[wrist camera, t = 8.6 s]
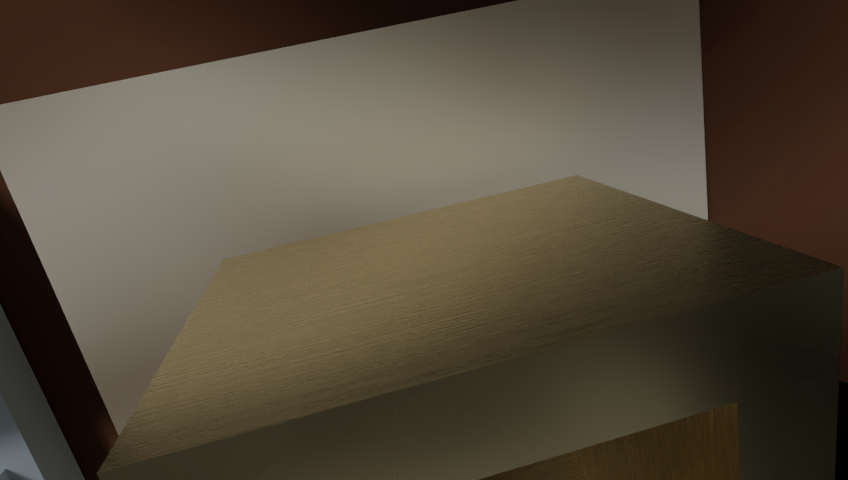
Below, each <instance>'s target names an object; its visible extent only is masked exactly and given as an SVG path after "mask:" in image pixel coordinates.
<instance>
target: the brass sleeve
mask: <svg viewBox="0 0 848 480" xmlns="http://www.w3.org/2000/svg"><path fill="white" fill-rule="evenodd" d="M843 270H844V268H843V267H840V266H838V265H835V264H832V263H829V262H826V261H823V260H820V259H817V258H815V257H812V256H809V255H806V254H803V253H800V252H797V251H794V250H792V249H789V248H786V247H783V246H780V245H777V244H774V243H771V242H769V241H766V240H763V239H760V238H757V237H754V236H751V235H748V234H745V233H743V232H740V231H737V230H734V229H731V228H728V227H725V226H722V225H720V224H717V223H714V222H711V221H708V220H705V219H702V218H699V217H697V216H694V215H691V214H688V213H685V212H682V211H679V210H676V209H673V208H671V207H668V206H665V205H662V204H659V203H656V202H653V201H650V200H648V199H645V198H642V197H639V196H636V195H633V194H630V193H627V192H625V191H622V190H619V189H616V188H613V187H610V186H607V185H604V184H602V183H599V182H596V181H593V180H590V179H587V178H584V177H581V176H578V175H575V176H570V177H566V178H562V179H558V180H554V181H549V182H545V183H541V184H537V185H533V186H529V187H524V188H520V189H516V190H512V191H508V192H503V193H499V194H495V195H491V196H487V197H483V198H478V199H474V200H470V201H466V202H462V203H457V204H453V205H449V206H445V207H441V208H437V209H432V210H428V211H424V212H420V213H416V214H411V215H407V216H403V217H399V218H395V219H391V220H386V221H382V222H378V223H374V224H370V225H365V226H361V227H357V228H353V229H349V230H345V231H340V232H336V233H332V234H328V235H324V236H319V237H315V238H311V239H307V240H303V241H299V242H294V243H290V244H286V245H282V246H278V247H273V248H269V249H265V250H261V251H257V252H253V253H248V254H244V255H240V256H236V257H232V258H227V259H223V260H222V261H221V263H220V265H219V266H218V268H217V270H216V272H215V273H214V275H213V277H212V278H211V280H210V282H209V283H208V285H207V287H206V289H205V290H204V292H203V294H202V295H201V297H200V299H199V301H198V302H197V304H196V306H195V307H194V309H193V311H192V312H191V314H190V316H189V318H188V319H187V321H186V323H185V324H184V326H183V328H182V329H181V331H180V333H179V335H178V336H177V338H176V340H175V341H174V343H173V345H172V346H171V348H170V350H169V352H168V353H167V355H166V357H165V358H164V360H163V362H162V363H161V365H160V367H159V369H158V370H157V372H156V374H155V375H154V377H153V379H152V381H151V382H150V384H149V386H148V387H147V389H146V391H145V392H144V394H143V396H142V398H141V399H140V401H139V403H138V404H137V406H136V408H135V409H134V411H133V413H132V415H131V416H130V418H129V420H128V421H127V423H126V425H125V426H124V428H123V430H122V432H121V433H120V435H119V437H118V438H117V440H116V442H115V444H114V445H113V447H112V449H111V450H110V452H109V454H108V455H107V457H106V459H105V461H104V462H103V464H102V466H101V467H100V469H99V471H98V472H97V475H98V477H99V479H100V480H835V465H836V440H837V416H838V392H839V367H840V343H841V318H842V294H843Z"/></svg>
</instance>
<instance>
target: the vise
mask: <svg viewBox="0 0 848 480" xmlns="http://www.w3.org/2000/svg"><path fill="white" fill-rule="evenodd" d="M0 480H85V478H84V476H83V474H82V472H81V470H80V468H79V466H78V464H77V462H76V460H75V458H74V456H73V454H72V452H71V450H70V447H69V445H68V443H67V441H66V439H65V437H64V435H63V433H62V431H61V429H60V427H59V425H58V423H57V421H56V418H55V416H54V414H53V412H52V410H51V408H50V406H49V404H48V402H47V400H46V398H45V396H44V394H43V392H42V389H41V387H40V385H39V383H38V381H37V379H36V377H35V375H34V373H33V371H32V369H31V367H30V365H29V363H28V360H27V358H26V356H25V354H24V352H23V350H22V348H21V346H20V344H19V342H18V340H17V338H16V336H15V334H14V331H13V329H12V327H11V325H10V323H9V321H8V319H7V317H6V315H5V313H4V311H3V309H2V307H1V305H0Z"/></svg>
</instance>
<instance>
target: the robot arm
mask: <svg viewBox="0 0 848 480" xmlns="http://www.w3.org/2000/svg"><path fill="white" fill-rule="evenodd" d="M835 480H848V383H846V382H842V381H839V392H838V416H837V440H836V465H835Z"/></svg>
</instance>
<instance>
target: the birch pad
mask: <svg viewBox="0 0 848 480" xmlns="http://www.w3.org/2000/svg"><path fill="white" fill-rule="evenodd" d="M0 170H1V173H2V175H3V177H4V179H5V182H6V184H7V186H8V188H9V191H10V193H11V195H12V197H13V200H14V202H15V204H16V206H17V209H18V211H19V213H20V215H21V218H22V220H23V222H24V224H25V227H26V229H27V231H28V233H29V236H30V238H31V240H32V242H33V244H34V247H35V249H36V251H37V253H38V256H39V258H40V260H41V262H42V265H43V267H44V269H45V271H46V274H47V276H48V278H49V280H50V283H51V285H52V287H53V289H54V292H55V294H56V296H57V298H58V301H59V303H60V305H61V307H62V310H63V312H64V314H65V316H66V319H67V321H68V323H69V325H70V327H71V330H72V332H73V334H74V336H75V339H76V341H77V343H78V345H79V348H80V350H81V352H82V354H83V357H84V359H85V361H86V363H87V366H88V368H89V370H90V372H91V375H92V377H93V379H94V381H95V384H96V386H97V388H98V390H99V393H100V395H101V397H102V399H103V402H104V404H105V406H106V408H107V410H108V413H109V415H110V417H111V419H112V422H113V424H114V426H115V428H116V431H117V433H118V435H120V433H121V432H122V430H123V428H124V426H125V425H126V423H127V421H128V420H129V418H130V416H131V415H132V413H133V411H134V409H135V408H136V406H137V404H138V403H139V401H140V399H141V398H142V396H143V394H144V392H145V391H146V389H147V387H148V386H149V384H150V382H151V381H152V379H153V377H154V375H155V374H156V372H157V370H158V369H159V367H160V365H161V363H162V362H163V360H164V358H165V357H166V355H167V353H168V352H169V350H170V348H171V346H172V345H173V343H174V341H175V340H176V338H177V336H178V335H179V333H180V331H181V329H182V328H183V326H184V324H185V323H186V321H187V319H188V318H189V316H190V314H191V312H192V311H193V309H194V307H195V306H196V304H197V302H198V301H199V299H200V297H201V295H202V294H203V292H204V290H205V289H206V287H207V285H208V283H209V282H210V280H211V278H212V277H213V275H214V273H215V272H216V270H217V268H218V266H219V265H220V263H221V261H222V260H223V259H227V258H232V257H236V256H240V255H244V254H248V253H253V252H257V251H261V250H265V249H269V248H273V247H278V246H282V245H286V244H290V243H294V242H299V241H303V240H307V239H311V238H315V237H319V236H324V235H328V234H332V233H336V232H340V231H345V230H349V229H353V228H357V227H361V226H365V225H370V224H374V223H378V222H382V221H386V220H391V219H395V218H399V217H403V216H407V215H411V214H416V213H420V212H424V211H428V210H432V209H437V208H441V207H445V206H449V205H453V204H457V203H462V202H466V201H470V200H474V199H478V198H483V197H487V196H491V195H495V194H499V193H503V192H508V191H512V190H516V189H520V188H524V187H529V186H533V185H537V184H541V183H545V182H549V181H554V180H558V179H562V178H566V177H570V176H575V175H578V176H581V177H584V178H587V179H590V180H593V181H596V182H599V183H602V184H604V185H607V186H610V187H613V188H616V189H619V190H622V191H625V192H627V193H630V194H633V195H636V196H639V197H642V198H645V199H648V200H650V201H653V202H656V203H659V204H662V205H665V206H668V207H671V208H673V209H676V210H679V211H682V212H685V213H688V214H691V215H694V216H697V217H699V218H702V219H705V220H708V209H707V185H706V161H705V136H704V112H703V88H702V63H701V39H700V15H699V0H517V1H512V2H507V3H502V4H497V5H492V6H487V7H482V8H477V9H472V10H468V11H463V12H458V13H453V14H448V15H443V16H438V17H433V18H428V19H423V20H418V21H413V22H408V23H403V24H398V25H393V26H388V27H383V28H378V29H373V30H368V31H363V32H358V33H353V34H348V35H344V36H339V37H334V38H329V39H324V40H319V41H314V42H309V43H304V44H299V45H294V46H289V47H284V48H279V49H274V50H269V51H264V52H259V53H254V54H249V55H244V56H239V57H234V58H229V59H225V60H220V61H215V62H210V63H205V64H200V65H195V66H190V67H185V68H180V69H175V70H170V71H165V72H160V73H155V74H150V75H145V76H140V77H135V78H130V79H125V80H120V81H115V82H110V83H106V84H101V85H96V86H91V87H86V88H81V89H76V90H71V91H66V92H61V93H56V94H51V95H46V96H41V97H36V98H31V99H26V100H21V101H16V102H11V103H6V104H1V105H0Z"/></svg>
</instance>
